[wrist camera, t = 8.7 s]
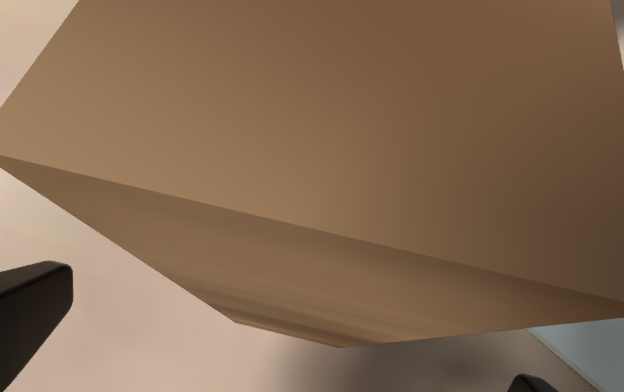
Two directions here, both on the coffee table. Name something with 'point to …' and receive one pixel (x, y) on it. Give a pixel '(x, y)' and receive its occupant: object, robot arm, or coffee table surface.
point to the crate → (589, 350)
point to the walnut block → (342, 157)
